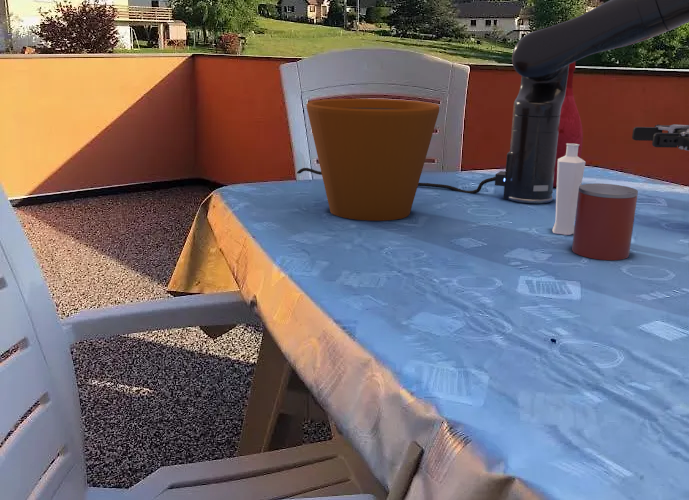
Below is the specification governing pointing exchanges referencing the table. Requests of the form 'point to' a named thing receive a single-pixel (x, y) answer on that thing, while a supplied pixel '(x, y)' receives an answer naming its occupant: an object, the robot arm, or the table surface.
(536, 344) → the table surface
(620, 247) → the tin can
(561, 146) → the wine bottle
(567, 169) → the perfume bottle
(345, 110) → the flower pot
